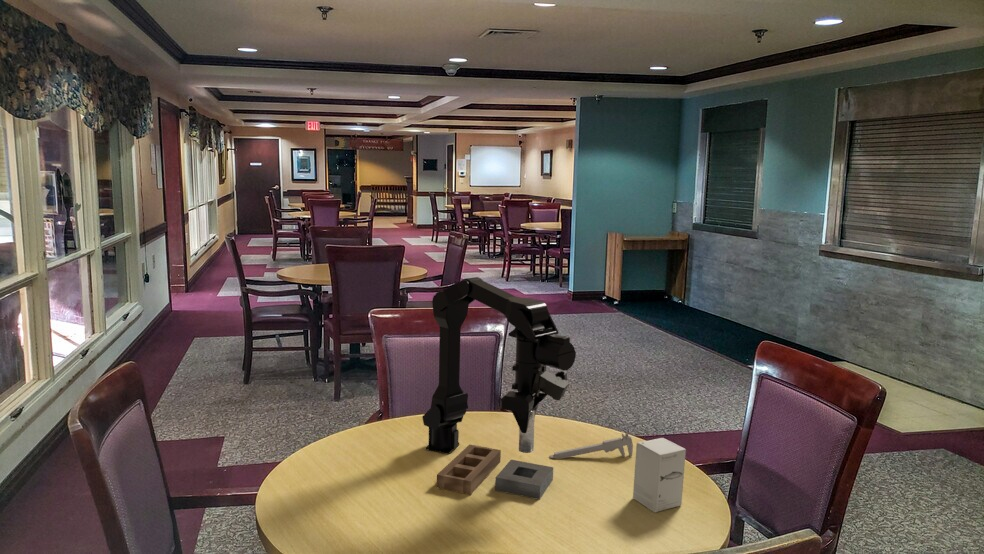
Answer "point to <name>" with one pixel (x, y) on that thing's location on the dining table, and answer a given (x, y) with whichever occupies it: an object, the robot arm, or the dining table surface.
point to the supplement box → (659, 474)
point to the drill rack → (468, 469)
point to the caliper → (599, 448)
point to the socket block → (524, 479)
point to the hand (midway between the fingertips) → (526, 429)
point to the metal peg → (527, 436)
